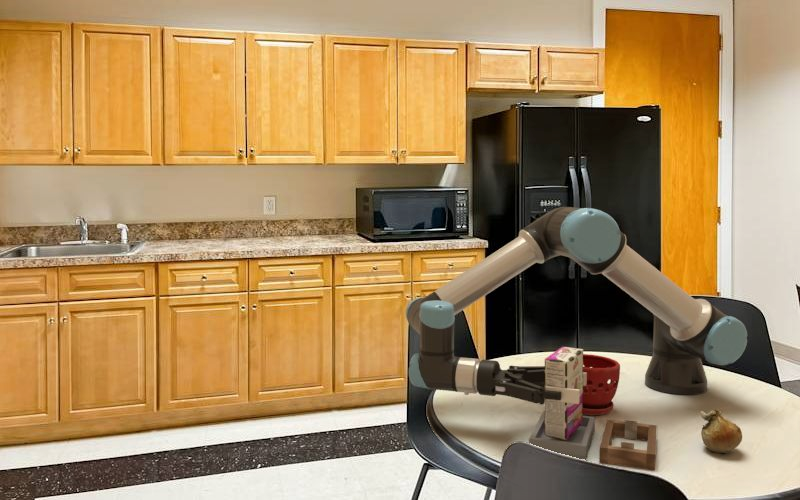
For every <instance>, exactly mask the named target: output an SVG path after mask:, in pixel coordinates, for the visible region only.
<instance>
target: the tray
mask: <svg viewBox="0 0 800 500" xmlns="http://www.w3.org/2000/svg"><path fill="white" fill-rule="evenodd" d="M539 417H540V418H539V419H538V422H537V423H536V425H535V426H534V429H533V430H532V432H531V434H530V436H529V438H528V444H529V443H531V444H533V445H536V446H539V447H542V448H544V449H548V450H551V451H554V452H557V453H561V454H565V455H569V456H572V457H576V458H579V459H585V460H586V461H587V457H588V454H589V451H590V448H591V445H592V441H593V438H594V434H595V431H596V428H595V427H596V416H591V415H583V423H582V424H581V425H580V426H579V427H578V428H577V429H576V431H575V432H574V433H573V434H572V435H571V436H570V437H569V438H568V439H567V440H562V439H556V438H550V437H547V436H545V410H543V412H542V414H541V416H539Z"/></svg>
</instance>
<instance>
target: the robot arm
mask: <svg viewBox="0 0 800 500" xmlns="http://www.w3.org/2000/svg"><path fill="white" fill-rule="evenodd" d="M559 256H563V257H567V258H569V259H571V260H573V261H574V262H576V263H577V265H579V266H580V267H582V268H583V269H584V270H586V271H587V272H588V273H589V274H591V275H599V274H601V275H603V276H604V277H606V278H607V279H608V280H609V281H610V282H612V283H613V284H614V285H616V286H617V287H619V289H621V290H622V291H623V292H625V293H626V294H628V295H629V296H630V298H632V299H634V301H637V302H638V303H639V304H640V305H642V306H643V307H644V308H646V310H648V311H649V312H650V313H652V314H653V334H652V335H653V339H652V340H653V341H652V342H653V343H652V356H651V358H650V359H651V360H650V361H649V364H648V367H647V369H646V372H645V375H644V384H645V385H646V386H647V387H648V388H650V389H653V390H655V391H658V392H662V393H668V394H674V395H675V394H676V395H699V394H703V393H705V392H707V390H708V379H707V378H708V377H707V375H706V371H705V369H704V365H703V362H702V360H704V361H707V362H708V363H710V364H713V365H718V366H727V365H731V364H733V363H735V362H736V361H737V360H738V359H740V357H741V356H742V355H743V353H744V352H745V350H746V347H747V345H748V344H747V343H748V339H747V337H748V331H747V329H746V325H745V324H744V323H743V322H742V321H741V320H739V319H738V318H736V317H734V316H731V315H729V316H728V315H727V314H725V313H723V312H722V311H721V310H719V309H718V308H716V306H714V305H713V304H712V303H711V302H709V301H708V300H707V299H704V298H694V297H692V295H690V294H689V293H687V292H686V291H685V290H684V289H683V288H681V287H680V286H679V285H677V283H675V282H674V281H672V280H671V279H670V278H669V277H668V276H667V275H666V274H664V273H662V272H661V271H660V270H658V268H656V266H654V265H653V264H651V263H650V262H649V261H647V260H646V259H645V258H644V257H642V256H641V255H640V254H639V253H637V251H635V250H634V249H633V248H631V247H630V246H629V245H627V236H626V234H625V233H623V232H622V231H621V230H620V228H619V224H618V223H617V222H616V220H615V219H614V218H613V217H612V216H611V215H609V213H606V212H604V211H603V210H600V209H596V208H591V207H584V208H583V207H582V208H581V207H573V206H562V207H557V208H554V209H552V210H550V211H548V212H547V213H545V214H543V215H542V216H540V217H538V218H537V219H535V220H534V221H533V222H531V223H529V225H527V226H525V227H523V228H522V229H521V230H520V231H519V232H518V236H517V237H516V238H514V239H513V240H511V241H510V242H508V243H506V244H505V245H504V246H503V245H502V247H501V248H499V249H498V250H496V251H495V252H492V253H491V254H490V255H488V256H487V257H485V258H483V259H482V260H480V261H479V262H477V263H476V264H474V265H473V266H471V267H470V268H468V269H467V270H465V271H463V272H462V273H460V274H459V275H457V276H456V277H454V278H453V279H451V280H450V281H448V282H446V283H445V284H444V285H442V286H440V287H439V288H437V289H436V290H435V291H433V292H431V293H429V294H428V295H426V296H425V297H416V298H414V299H412V300H411V301H410V302H409V303H408V304H407V306H406V307H405V318H406V320H407V322H408V325H409V326H410V327H411V328H412V329H413V330H415V331H416V332H417V333H418V335H419V347H420V349H419V353H418V352H417V353H414V354H413V355H412V356H411V359H410V362H409V367H408V377H409V382H410V384H412V385H413V386H414V387H416V388H417V387H418V388H422V389H427V390H436V391H447V392H456V393H464V395H465V396H469V394H473V395H474V394H475V395H476V394H479V395H481V396H482V395H483V396H489V397H495V396H497V395H498V396H507V397H511V398H514V399H517V400H521V401H526V402H530V403H533V404H538V405H545V400H548V401H556V402H565V403H574V404H579V395H580V390H579V389H570V388H560V387H551V386H546V390H545V388H543V387H541V386H538V385H535V384H532V383H535V382H545V365H544V366H543V365H541V366H537V365H536V366H535V365H533V366H532V365H531V366H521V365H509V366H508V368H507V369H502V368H501V364H500V363H499V361H498V360H493V359H482V360H480V359H479V358H472V357H470V358H469V357H461V356H459V357H458V356H455V320H456V317H455V316H456V315H457V314H459V313H461V312H462V311H464V310H465V309H467V308H468V307H469V306H471V305H473V304H474V303H475V302H478V301H479V300H480V299H482V298H484V297H486V296H487V295H488V294H490V293H491V292H493V291H495V290H496V289H498V288H499V287H501V286H502V285H503V284H506V283H507V282H508V281H509V280H511V279H513V278H515V277H516V276H518V275H520V273H522V272H524V271H525V270H527V269H528V268H530V267H531V266H533V265H534V264H536V263H537V264H544V263H545V262H547V261H548V260H551V259H552V258H555V257H559ZM586 385H587V373H585V372H583V386H586Z"/></svg>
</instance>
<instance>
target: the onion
mask: <svg viewBox="0 0 800 500" xmlns="http://www.w3.org/2000/svg"><path fill="white" fill-rule="evenodd" d="M699 415H700V417H701V418H702V419H703V420H704V421H706V423H705V425H702V428H701V433H700V434H701V439H702V442H703V444H704V446H705V447H706V448H708V449H709V450H710V451H712V452H714V453H718V454H719V453H721V454H722V453H724V454H729V453H732V451H734V450H735V449H736V448H737V447H739V445H740V444H741V443H742V440H743V432H742V430H741V428H740V426H739V425H737V424H736V423H734V422H732V421H731V420H729V419H727V418H725V417H723V415H722V412H721V410H718V409H715V410H713V409H712V410H711V411H710V412H708V413H706V412H705V411H703V410H701V411H700V412H699Z"/></svg>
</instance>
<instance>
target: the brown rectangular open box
mask: <svg viewBox="0 0 800 500" xmlns="http://www.w3.org/2000/svg"><path fill="white" fill-rule="evenodd" d="M657 427H658V426H657V425H655V424H651V423H650V424H649V423H648V424H647V423H642V422H641V423H640V422H638V420H634V419H633V420H632V419H631V420H630V419H625V420H615V419H608V418H607V419H606V422H605V425H604V428H603V432H602V436H601V441H600V444H599V457H598V460H599V463H601V464H602V463H605V464H609V465H617V466H625V467H631V468H637V469H645V470H650V471H651V470H652V471H655V466H656V454H657V453H656V449H657ZM614 437H615V438H624V439H627V440H634V441H635V440H636V441H637V440H639V441H641V440H642V441H647V443H646V444H647V445H646V449H640V448H639V449H637V448H635V442H628V441H620V446H615V445H612V443H613V440H614Z"/></svg>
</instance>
